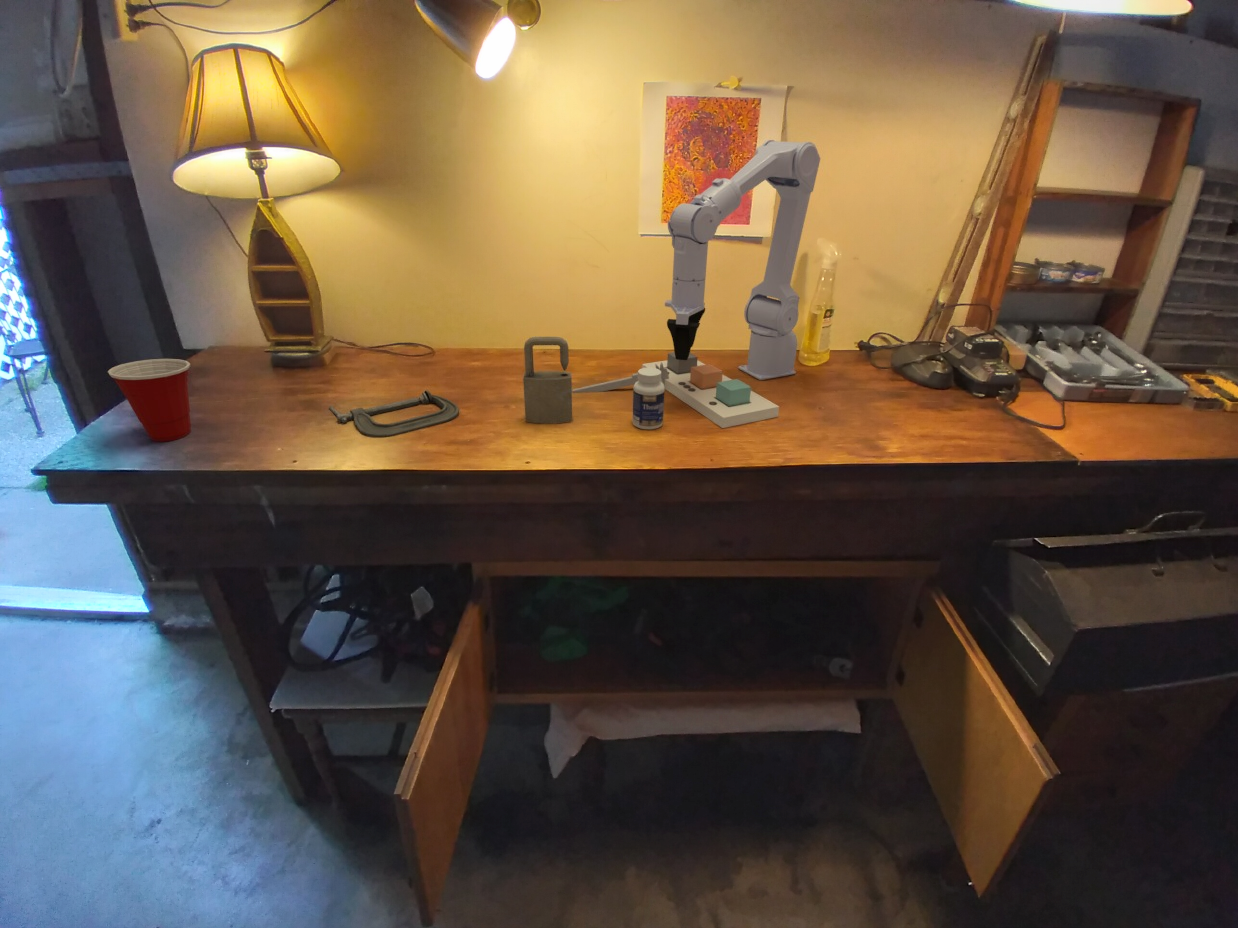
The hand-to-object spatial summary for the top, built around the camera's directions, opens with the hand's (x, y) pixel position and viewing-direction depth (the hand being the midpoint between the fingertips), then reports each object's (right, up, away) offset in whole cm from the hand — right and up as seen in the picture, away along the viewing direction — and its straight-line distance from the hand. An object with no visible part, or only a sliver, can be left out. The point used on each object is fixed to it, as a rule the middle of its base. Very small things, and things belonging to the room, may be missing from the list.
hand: (684, 352), depth 121 cm
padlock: (-24, -13, -4) cm, 28 cm away
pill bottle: (-7, -14, -6) cm, 16 cm away
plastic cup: (-86, -16, -12) cm, 88 cm away
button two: (+1, -1, +13) cm, 13 cm away
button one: (+9, -9, -1) cm, 12 cm away
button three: (+5, -5, +6) cm, 9 cm away
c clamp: (-52, -12, -3) cm, 53 cm away
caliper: (-12, -7, +9) cm, 17 cm away
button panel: (+5, -7, +7) cm, 11 cm away
